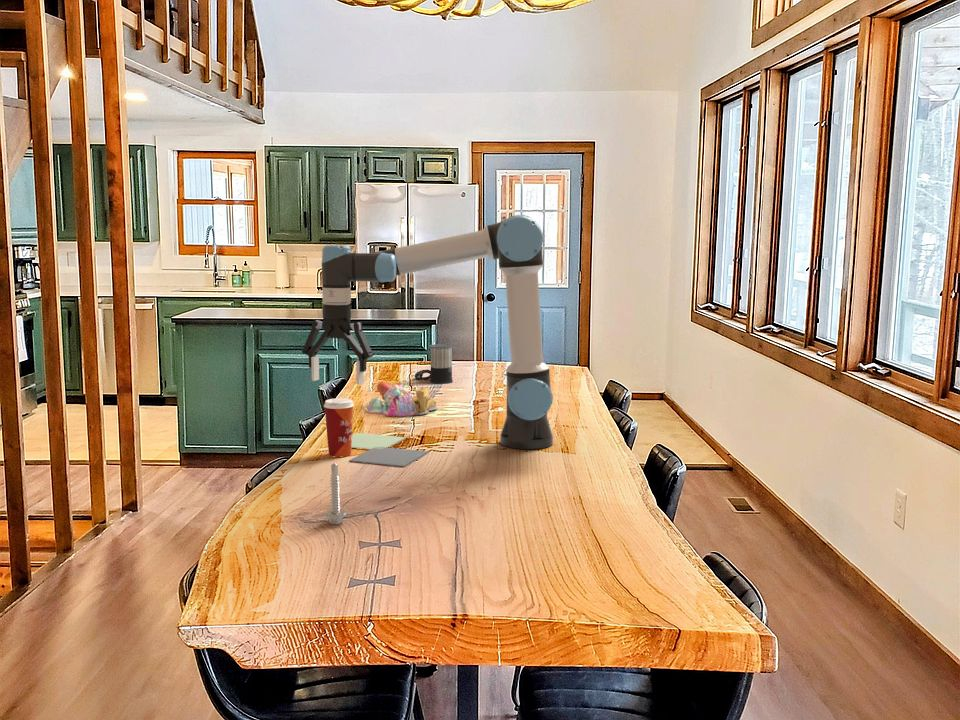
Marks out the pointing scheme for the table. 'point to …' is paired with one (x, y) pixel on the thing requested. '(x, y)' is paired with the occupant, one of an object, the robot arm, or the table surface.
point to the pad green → (374, 441)
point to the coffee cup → (339, 426)
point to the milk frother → (439, 365)
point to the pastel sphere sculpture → (401, 401)
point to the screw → (335, 499)
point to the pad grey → (390, 456)
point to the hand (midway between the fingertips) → (337, 382)
